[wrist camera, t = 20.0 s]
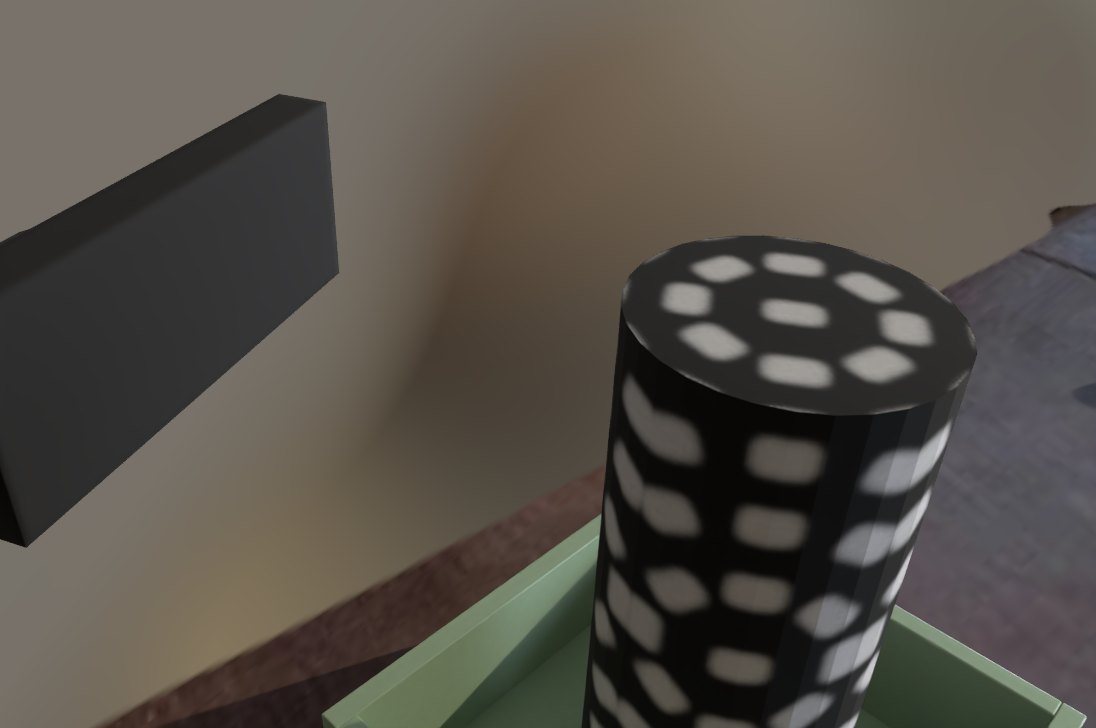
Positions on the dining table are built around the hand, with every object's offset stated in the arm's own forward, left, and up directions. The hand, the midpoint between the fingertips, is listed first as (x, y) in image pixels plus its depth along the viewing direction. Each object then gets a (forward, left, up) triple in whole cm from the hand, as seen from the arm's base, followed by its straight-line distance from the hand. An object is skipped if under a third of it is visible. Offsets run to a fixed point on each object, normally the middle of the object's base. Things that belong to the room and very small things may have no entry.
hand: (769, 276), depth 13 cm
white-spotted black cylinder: (-4, +9, -26) cm, 28 cm away
